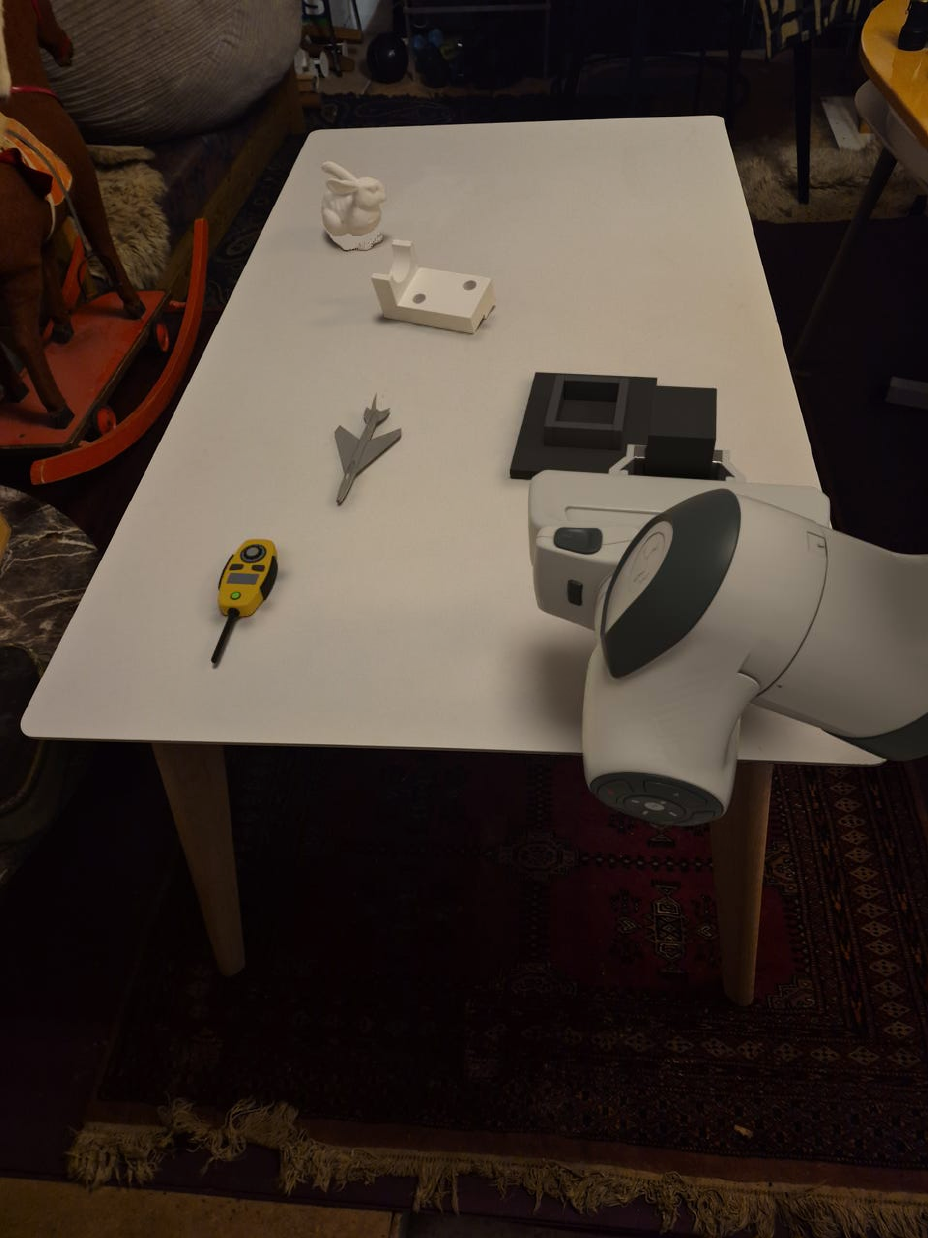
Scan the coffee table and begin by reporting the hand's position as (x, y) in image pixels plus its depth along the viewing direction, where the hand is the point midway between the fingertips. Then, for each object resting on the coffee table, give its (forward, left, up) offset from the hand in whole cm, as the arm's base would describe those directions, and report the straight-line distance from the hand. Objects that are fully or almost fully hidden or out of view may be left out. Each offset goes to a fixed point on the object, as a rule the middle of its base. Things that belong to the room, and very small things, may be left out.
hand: (676, 454), depth 64 cm
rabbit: (+48, -68, -17) cm, 84 cm away
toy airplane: (+33, -20, -17) cm, 42 cm away
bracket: (+31, -48, -17) cm, 59 cm away
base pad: (+9, -25, -17) cm, 31 cm away
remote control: (+38, +5, -17) cm, 42 cm away
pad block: (0, +1, -6) cm, 6 cm away
